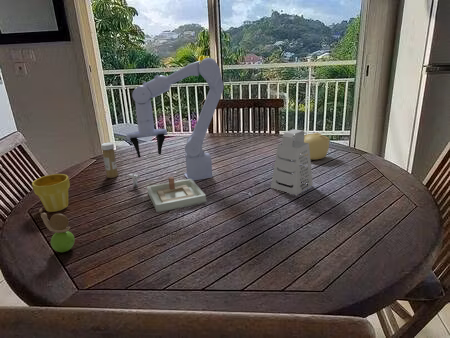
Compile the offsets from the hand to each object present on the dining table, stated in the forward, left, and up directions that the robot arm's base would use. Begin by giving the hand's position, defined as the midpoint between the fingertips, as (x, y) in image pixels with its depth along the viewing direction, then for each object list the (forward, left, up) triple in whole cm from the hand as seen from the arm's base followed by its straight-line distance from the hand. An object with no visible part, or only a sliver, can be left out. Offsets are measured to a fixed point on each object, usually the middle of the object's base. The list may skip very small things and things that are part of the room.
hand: (149, 155), depth 126 cm
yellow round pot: (-69, +8, -10) cm, 70 cm away
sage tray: (-4, +21, -9) cm, 23 cm away
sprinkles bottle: (+14, -10, -10) cm, 20 cm away
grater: (-43, +31, -10) cm, 54 cm away
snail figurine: (+30, +39, -10) cm, 50 cm away
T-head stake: (+7, +5, -9) cm, 13 cm away
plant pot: (+33, +11, -10) cm, 36 cm away
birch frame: (-4, +21, -9) cm, 23 cm away
